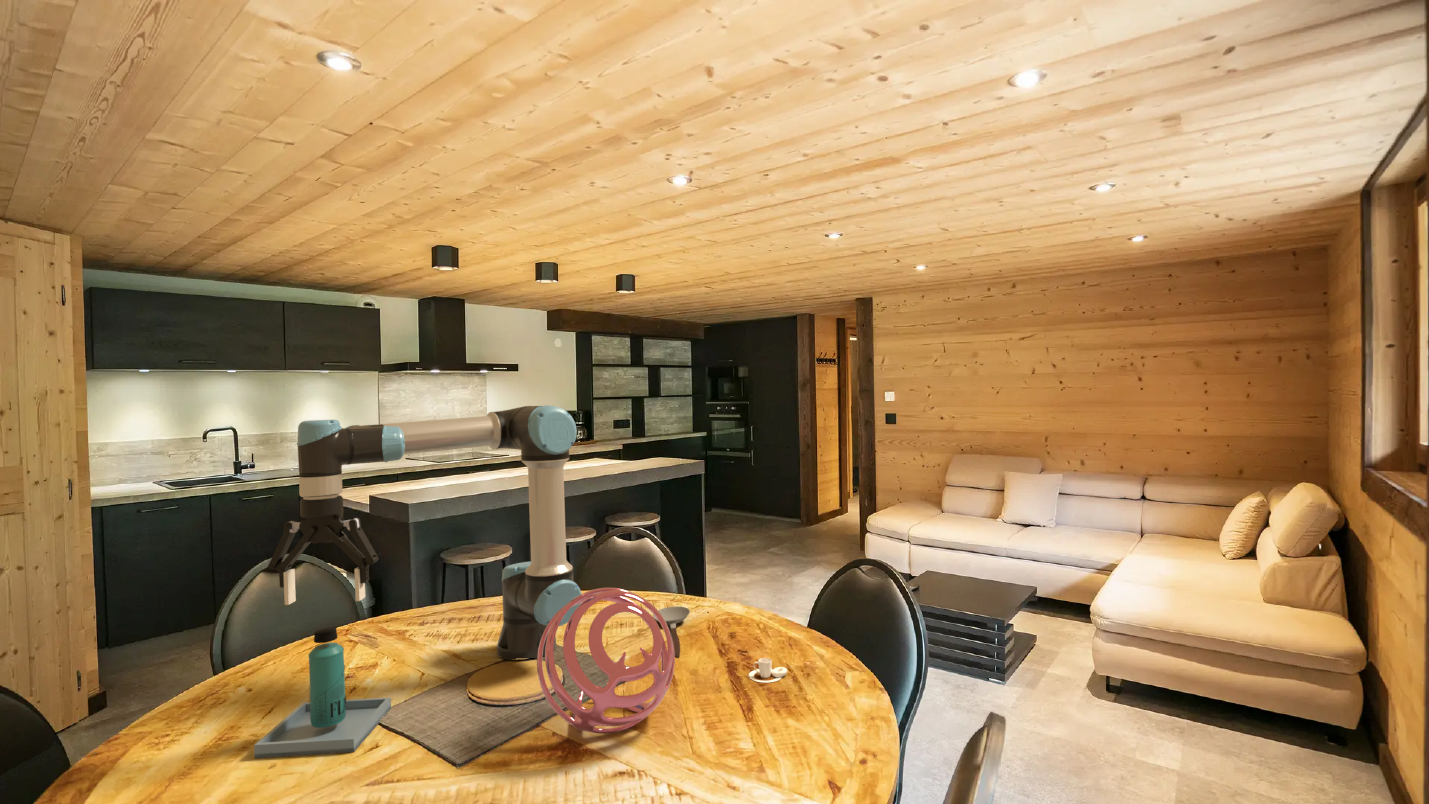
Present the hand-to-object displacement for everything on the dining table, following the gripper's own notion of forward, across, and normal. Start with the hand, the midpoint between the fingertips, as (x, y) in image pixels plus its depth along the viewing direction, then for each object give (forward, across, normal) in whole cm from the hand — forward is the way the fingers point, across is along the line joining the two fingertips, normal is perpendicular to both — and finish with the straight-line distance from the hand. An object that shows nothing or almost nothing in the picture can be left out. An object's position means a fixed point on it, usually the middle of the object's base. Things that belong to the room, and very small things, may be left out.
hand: (325, 601), depth 137 cm
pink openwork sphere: (+27, -57, +4) cm, 63 cm away
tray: (+26, 0, 0) cm, 26 cm away
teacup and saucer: (+28, -93, -12) cm, 98 cm away
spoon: (+28, -70, -45) cm, 88 cm away
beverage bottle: (+26, 0, 0) cm, 26 cm away
